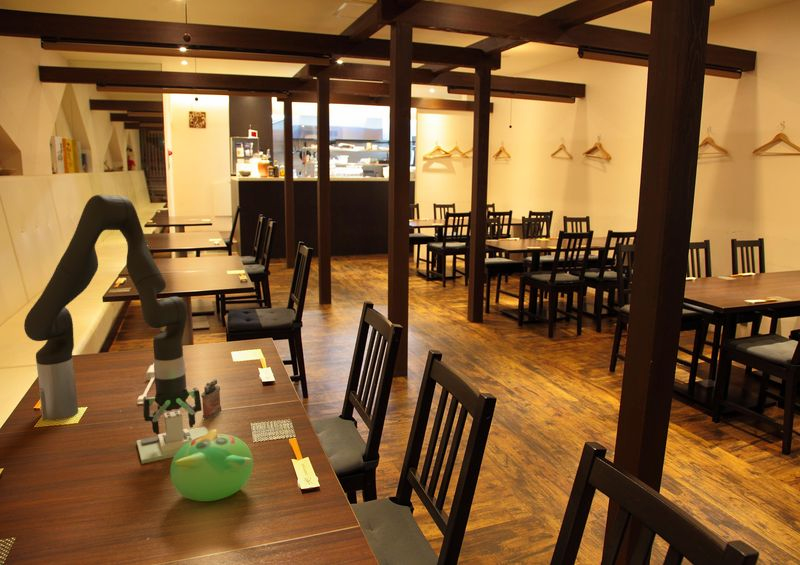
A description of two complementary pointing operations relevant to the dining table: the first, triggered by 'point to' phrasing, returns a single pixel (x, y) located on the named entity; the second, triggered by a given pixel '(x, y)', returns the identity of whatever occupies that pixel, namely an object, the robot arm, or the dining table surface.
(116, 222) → the robot arm
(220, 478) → the toy bird
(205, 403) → the lighter
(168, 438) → the plug
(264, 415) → the dining table surface
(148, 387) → the charging cable
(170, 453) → the board
